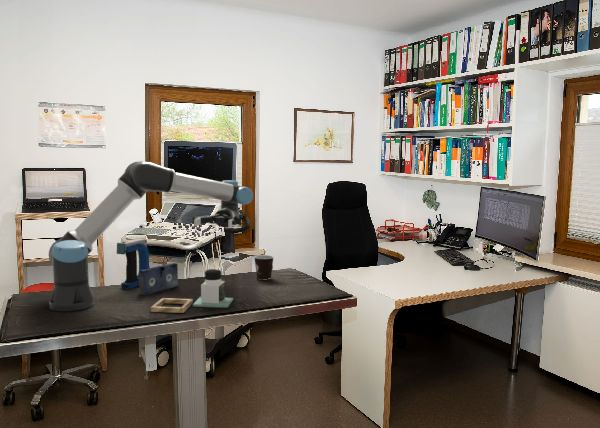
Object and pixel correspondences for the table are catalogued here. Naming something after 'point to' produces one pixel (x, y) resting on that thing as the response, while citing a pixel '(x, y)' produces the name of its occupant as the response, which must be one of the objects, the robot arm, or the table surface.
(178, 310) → the oak cradle
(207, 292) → the medicine bottle
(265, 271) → the coffee mug
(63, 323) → the table surface
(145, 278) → the vhs cassette tape
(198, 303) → the rubber mat
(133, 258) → the handheld scanner
